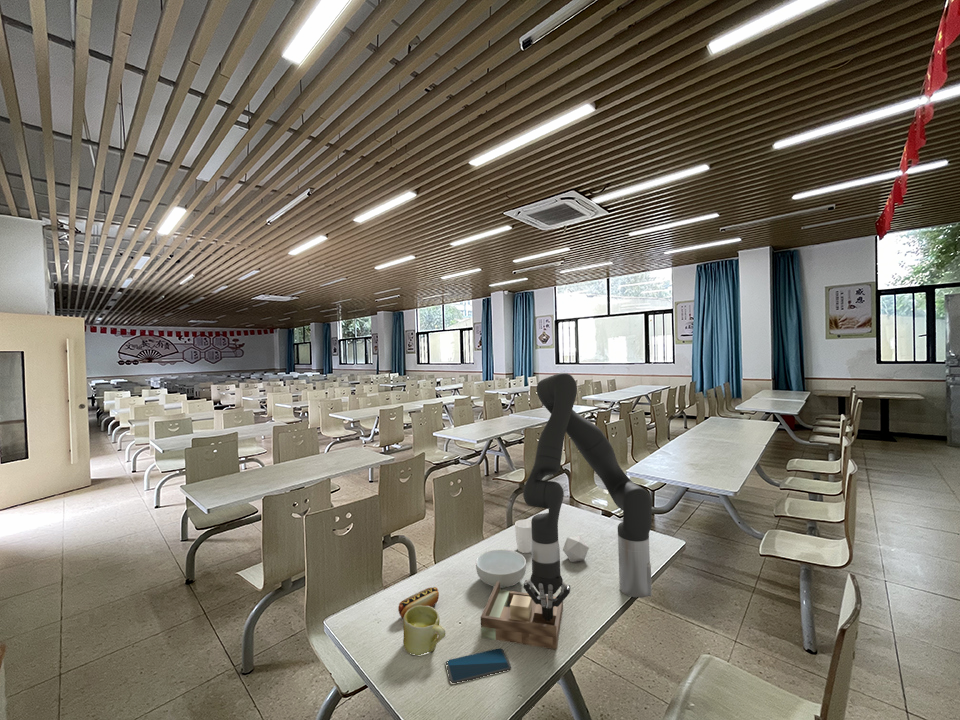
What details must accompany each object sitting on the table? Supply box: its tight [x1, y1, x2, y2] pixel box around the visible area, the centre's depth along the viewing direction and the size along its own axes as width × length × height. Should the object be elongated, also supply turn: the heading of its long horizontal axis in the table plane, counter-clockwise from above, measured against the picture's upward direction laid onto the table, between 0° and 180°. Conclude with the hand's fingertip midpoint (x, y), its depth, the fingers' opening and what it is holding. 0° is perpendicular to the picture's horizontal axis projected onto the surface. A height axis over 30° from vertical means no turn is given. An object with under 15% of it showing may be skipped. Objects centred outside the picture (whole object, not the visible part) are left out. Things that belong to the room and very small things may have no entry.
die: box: [562, 535, 590, 563], centre depth 152 cm, size 8×9×10 cm
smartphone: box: [445, 647, 512, 683], centre depth 102 cm, size 8×15×1 cm, turn 105°
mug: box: [402, 605, 447, 656], centre depth 109 cm, size 12×10×10 cm
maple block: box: [510, 595, 532, 622], centre depth 115 cm, size 5×5×5 cm
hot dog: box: [397, 586, 440, 619], centre depth 125 cm, size 5×13×5 cm, turn 132°
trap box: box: [480, 581, 564, 650], centre depth 118 cm, size 20×18×6 cm
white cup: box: [514, 518, 532, 554], centre depth 161 cm, size 8×8×10 cm
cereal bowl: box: [475, 549, 527, 589], centre depth 139 cm, size 17×17×7 cm
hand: (547, 619), depth 112 cm, fingers closed
